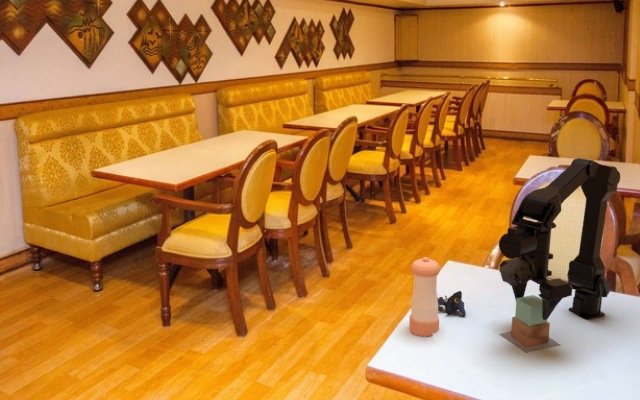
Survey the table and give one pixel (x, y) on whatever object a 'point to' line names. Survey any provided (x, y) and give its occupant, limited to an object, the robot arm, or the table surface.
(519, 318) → the green cube
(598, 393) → the table surface
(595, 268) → the robot arm
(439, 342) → the table surface
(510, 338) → the mat
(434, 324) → the pepper shaker
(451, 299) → the toy
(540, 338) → the walnut block
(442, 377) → the table surface
